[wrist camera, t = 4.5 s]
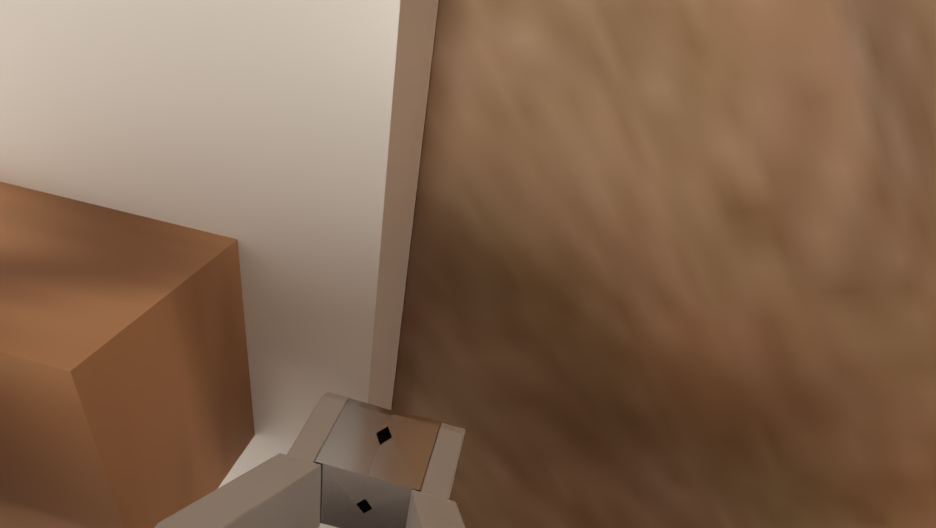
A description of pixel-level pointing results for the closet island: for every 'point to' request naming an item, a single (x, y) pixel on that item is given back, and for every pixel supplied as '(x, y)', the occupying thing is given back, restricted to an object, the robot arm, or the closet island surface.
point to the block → (115, 364)
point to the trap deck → (244, 162)
